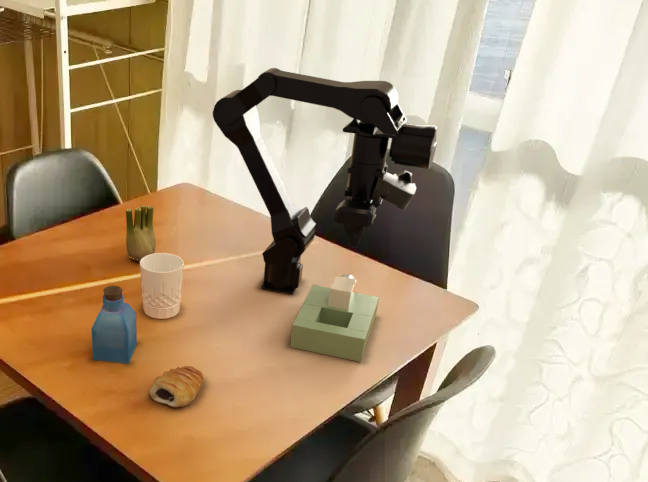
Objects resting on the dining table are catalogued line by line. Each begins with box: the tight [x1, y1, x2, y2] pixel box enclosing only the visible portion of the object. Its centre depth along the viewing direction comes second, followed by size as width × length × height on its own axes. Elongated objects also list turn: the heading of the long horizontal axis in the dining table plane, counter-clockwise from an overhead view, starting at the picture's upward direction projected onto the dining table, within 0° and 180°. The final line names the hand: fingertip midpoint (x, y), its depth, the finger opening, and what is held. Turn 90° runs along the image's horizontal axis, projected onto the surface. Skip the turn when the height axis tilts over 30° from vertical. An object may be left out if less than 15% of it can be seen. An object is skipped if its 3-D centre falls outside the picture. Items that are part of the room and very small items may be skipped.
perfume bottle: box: [90, 285, 138, 365], centre depth 124 cm, size 6×6×12 cm
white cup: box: [139, 252, 185, 320], centre depth 137 cm, size 8×8×10 cm
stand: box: [289, 284, 380, 363], centre depth 131 cm, size 12×15×4 cm
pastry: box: [148, 365, 204, 408], centre depth 117 cm, size 9×7×4 cm
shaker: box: [328, 273, 357, 310], centre depth 132 cm, size 7×4×4 cm, turn 157°
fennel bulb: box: [125, 204, 157, 263], centre depth 154 cm, size 6×5×12 cm
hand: (355, 242), depth 136 cm, fingers open, 4 cm apart
